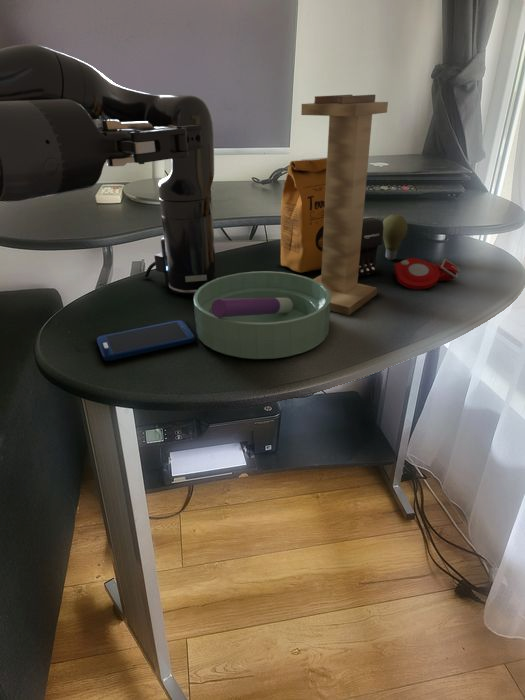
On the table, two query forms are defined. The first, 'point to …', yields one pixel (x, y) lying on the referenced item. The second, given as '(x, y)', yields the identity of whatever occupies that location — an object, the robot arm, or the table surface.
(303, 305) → the bowl
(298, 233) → the coffee package
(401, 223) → the light bulb
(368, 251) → the battery charger
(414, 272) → the tracker holder
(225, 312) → the glue stick
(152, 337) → the cell phone
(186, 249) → the robot arm
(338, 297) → the stand
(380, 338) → the table surface
